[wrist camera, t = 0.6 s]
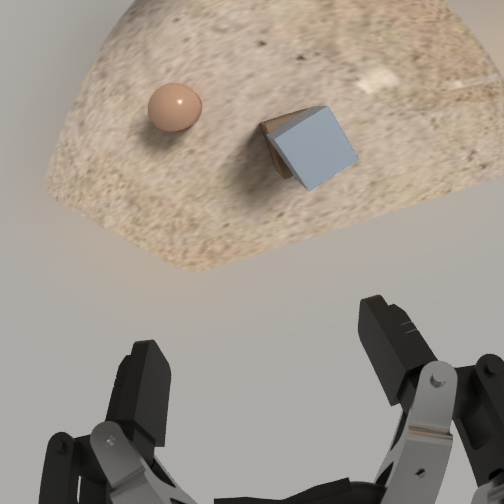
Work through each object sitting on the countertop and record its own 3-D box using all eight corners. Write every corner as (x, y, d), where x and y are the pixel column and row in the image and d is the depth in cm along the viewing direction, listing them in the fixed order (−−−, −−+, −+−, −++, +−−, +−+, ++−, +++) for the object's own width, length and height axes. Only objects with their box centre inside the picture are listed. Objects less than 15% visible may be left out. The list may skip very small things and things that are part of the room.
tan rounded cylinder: (155, 94, 27) (143, 91, 23) (197, 83, 27) (192, 77, 23) (163, 134, 29) (153, 137, 25) (205, 123, 29) (202, 124, 25)
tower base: (259, 123, 30) (265, 124, 26) (307, 108, 30) (321, 107, 25) (276, 169, 33) (284, 178, 28) (322, 154, 32) (337, 161, 28)
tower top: (265, 135, 26) (274, 139, 22) (311, 106, 25) (328, 105, 21) (295, 178, 28) (308, 191, 24) (338, 151, 27) (358, 159, 23)
